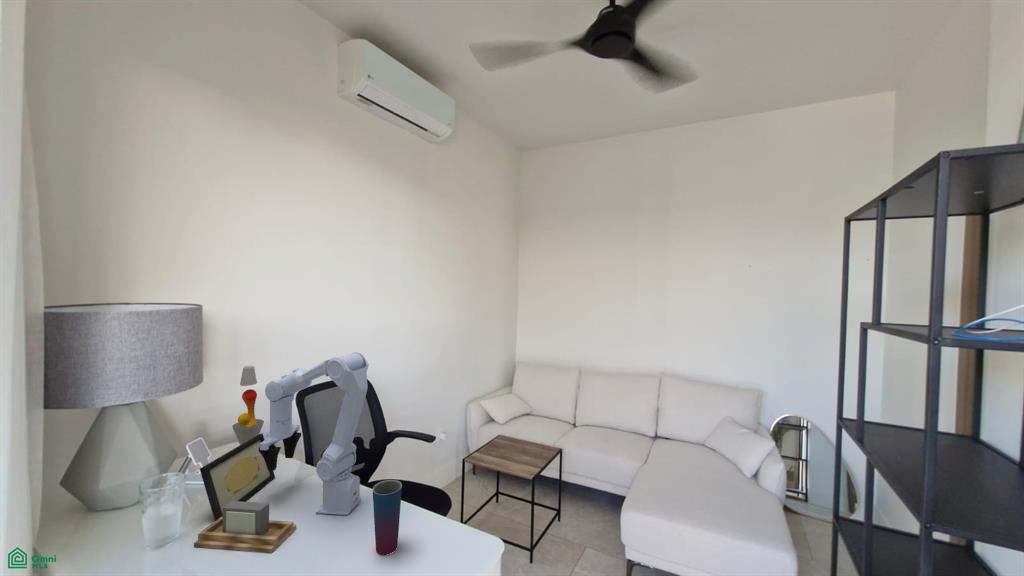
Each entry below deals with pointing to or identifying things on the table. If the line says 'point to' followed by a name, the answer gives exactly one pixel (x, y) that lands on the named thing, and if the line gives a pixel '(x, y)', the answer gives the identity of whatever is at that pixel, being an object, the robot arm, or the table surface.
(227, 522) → the grey rectangular prism
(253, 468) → the picture frame
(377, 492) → the cup
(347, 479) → the robot arm
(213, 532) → the wooden tray
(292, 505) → the table surface
